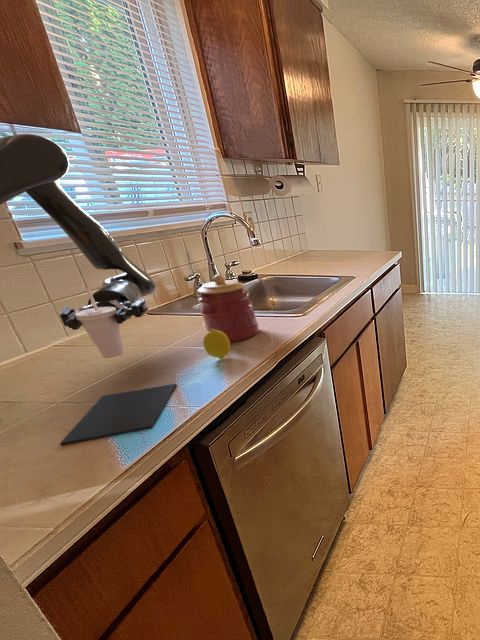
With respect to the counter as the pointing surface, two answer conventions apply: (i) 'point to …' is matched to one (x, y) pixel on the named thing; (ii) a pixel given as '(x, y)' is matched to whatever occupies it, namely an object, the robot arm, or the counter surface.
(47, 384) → the counter surface
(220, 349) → the lemon
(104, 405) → the mat
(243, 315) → the kitchen canister
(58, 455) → the counter surface
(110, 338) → the smoothie
